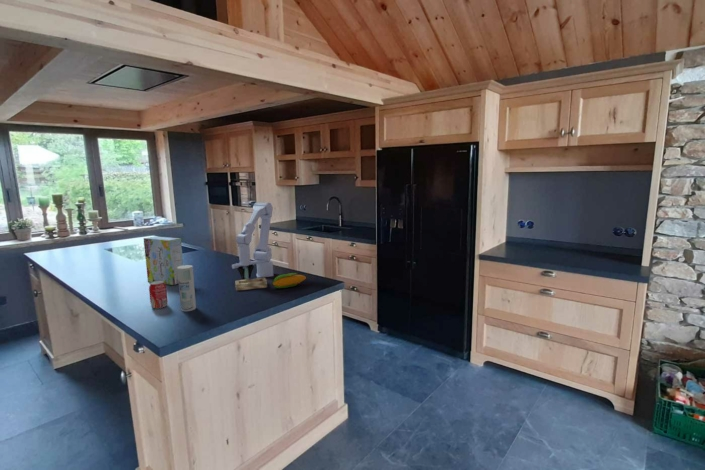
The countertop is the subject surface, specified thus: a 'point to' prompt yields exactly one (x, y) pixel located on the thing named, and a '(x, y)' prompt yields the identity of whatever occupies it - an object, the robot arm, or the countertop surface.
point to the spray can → (186, 287)
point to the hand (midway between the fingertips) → (246, 278)
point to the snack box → (163, 259)
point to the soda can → (158, 294)
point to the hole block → (250, 284)
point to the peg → (246, 273)
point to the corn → (287, 280)
